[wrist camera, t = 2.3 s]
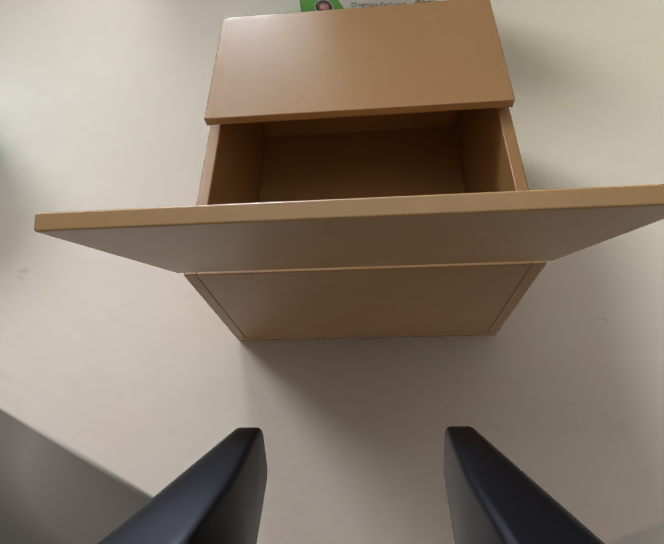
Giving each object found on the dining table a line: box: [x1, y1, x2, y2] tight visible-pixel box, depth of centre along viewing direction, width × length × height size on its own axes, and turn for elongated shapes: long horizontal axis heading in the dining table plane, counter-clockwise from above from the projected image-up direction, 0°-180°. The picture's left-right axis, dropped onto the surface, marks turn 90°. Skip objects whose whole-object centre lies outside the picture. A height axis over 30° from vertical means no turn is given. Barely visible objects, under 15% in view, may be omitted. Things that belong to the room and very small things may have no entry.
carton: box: [184, 0, 546, 340], centre depth 22 cm, size 14×13×8 cm
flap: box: [34, 184, 664, 273], centre depth 12 cm, size 7×13×1 cm
